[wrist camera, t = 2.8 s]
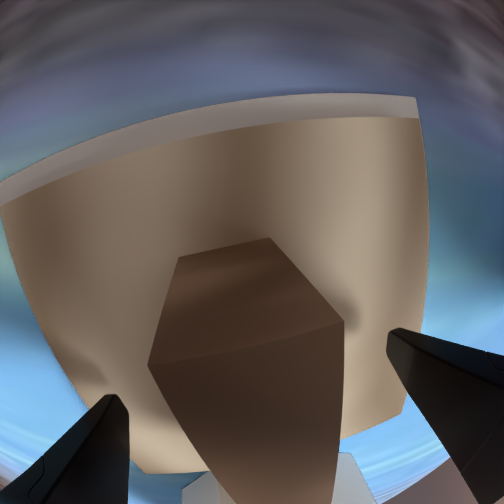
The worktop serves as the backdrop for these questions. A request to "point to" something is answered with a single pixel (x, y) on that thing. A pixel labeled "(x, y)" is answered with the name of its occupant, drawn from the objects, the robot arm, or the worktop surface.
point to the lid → (236, 293)
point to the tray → (203, 132)
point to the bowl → (344, 494)
